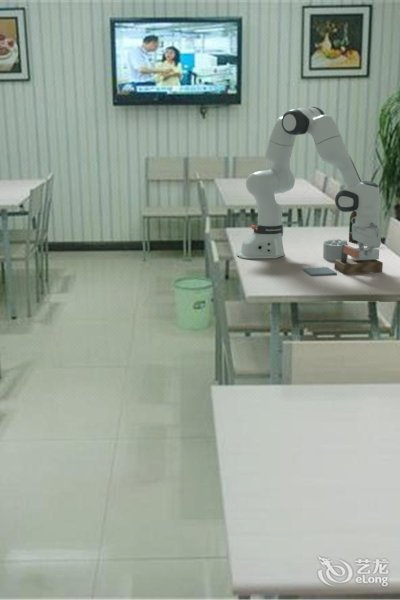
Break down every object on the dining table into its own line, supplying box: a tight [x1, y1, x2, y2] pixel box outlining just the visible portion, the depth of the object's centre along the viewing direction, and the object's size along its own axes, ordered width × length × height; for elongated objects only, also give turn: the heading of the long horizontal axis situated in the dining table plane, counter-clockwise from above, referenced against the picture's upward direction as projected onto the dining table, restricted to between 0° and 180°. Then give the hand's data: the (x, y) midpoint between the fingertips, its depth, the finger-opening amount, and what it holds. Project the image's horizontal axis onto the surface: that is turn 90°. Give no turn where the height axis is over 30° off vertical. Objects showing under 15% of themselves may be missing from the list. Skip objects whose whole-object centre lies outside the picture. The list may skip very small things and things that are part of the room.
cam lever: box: [341, 244, 359, 262], centre depth 280 cm, size 15×2×7 cm, turn 10°
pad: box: [302, 266, 338, 277], centre depth 286 cm, size 11×11×1 cm
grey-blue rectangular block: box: [350, 247, 380, 260], centre depth 288 cm, size 10×5×4 cm, turn 100°
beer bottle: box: [348, 211, 358, 244], centre depth 349 cm, size 8×8×24 cm
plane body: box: [333, 258, 384, 275], centre depth 288 cm, size 17×10×4 cm, turn 100°
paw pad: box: [322, 238, 349, 263], centre depth 311 cm, size 10×13×9 cm
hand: (365, 254), depth 288 cm, fingers closed on grey-blue rectangular block, 5 cm apart
